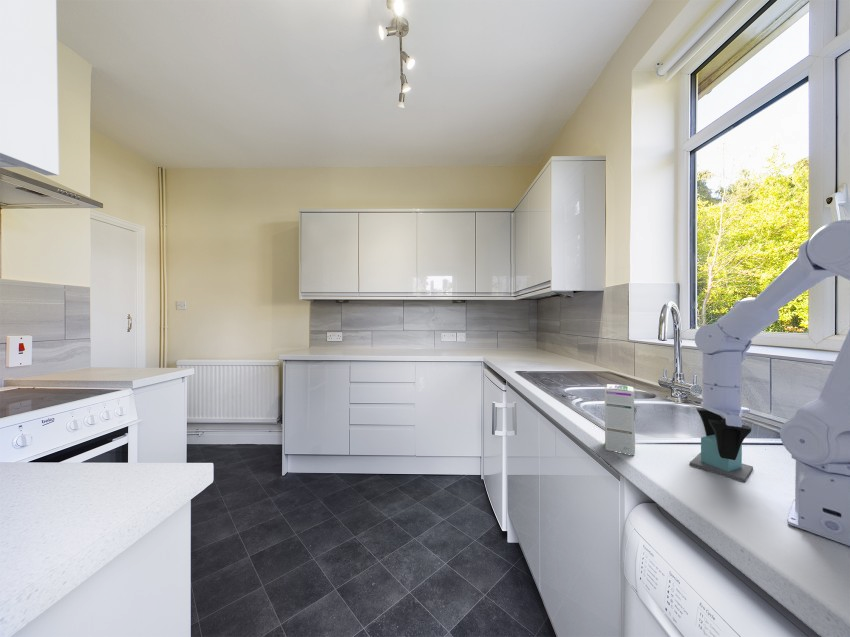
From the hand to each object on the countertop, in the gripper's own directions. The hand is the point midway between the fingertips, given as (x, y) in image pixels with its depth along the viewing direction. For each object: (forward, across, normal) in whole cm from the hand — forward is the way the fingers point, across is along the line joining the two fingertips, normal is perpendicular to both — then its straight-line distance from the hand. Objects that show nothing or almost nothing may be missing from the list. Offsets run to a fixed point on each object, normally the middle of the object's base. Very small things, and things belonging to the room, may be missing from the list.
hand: (720, 450), depth 63 cm
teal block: (+3, 0, 0) cm, 3 cm away
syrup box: (+4, 0, +18) cm, 18 cm away
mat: (+3, 0, 0) cm, 3 cm away
